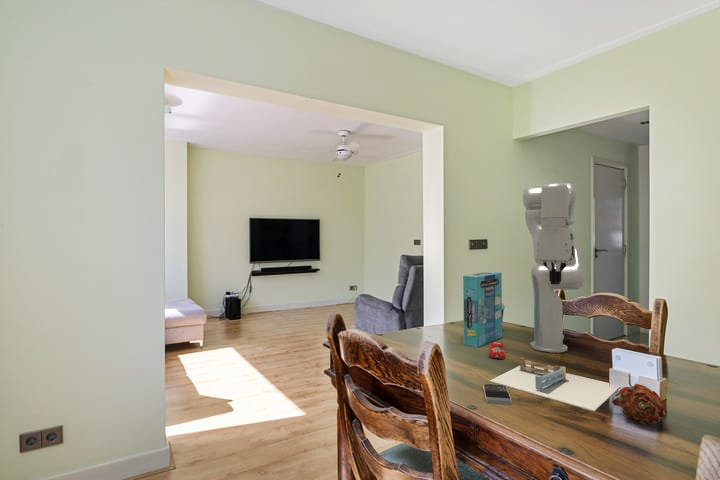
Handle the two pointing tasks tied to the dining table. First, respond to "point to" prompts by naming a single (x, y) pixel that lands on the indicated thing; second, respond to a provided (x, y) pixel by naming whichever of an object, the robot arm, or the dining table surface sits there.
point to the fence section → (532, 363)
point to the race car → (497, 350)
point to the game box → (482, 308)
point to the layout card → (560, 388)
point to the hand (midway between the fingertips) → (555, 283)
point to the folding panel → (547, 377)
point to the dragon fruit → (640, 404)
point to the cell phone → (496, 394)
